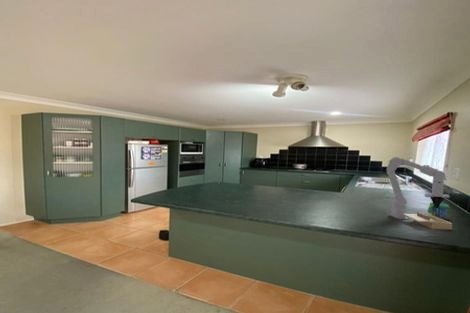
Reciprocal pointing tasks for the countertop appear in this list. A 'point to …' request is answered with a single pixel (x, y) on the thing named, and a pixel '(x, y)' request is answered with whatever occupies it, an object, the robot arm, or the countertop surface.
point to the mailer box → (437, 224)
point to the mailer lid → (420, 217)
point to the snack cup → (439, 210)
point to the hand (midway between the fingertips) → (436, 207)
